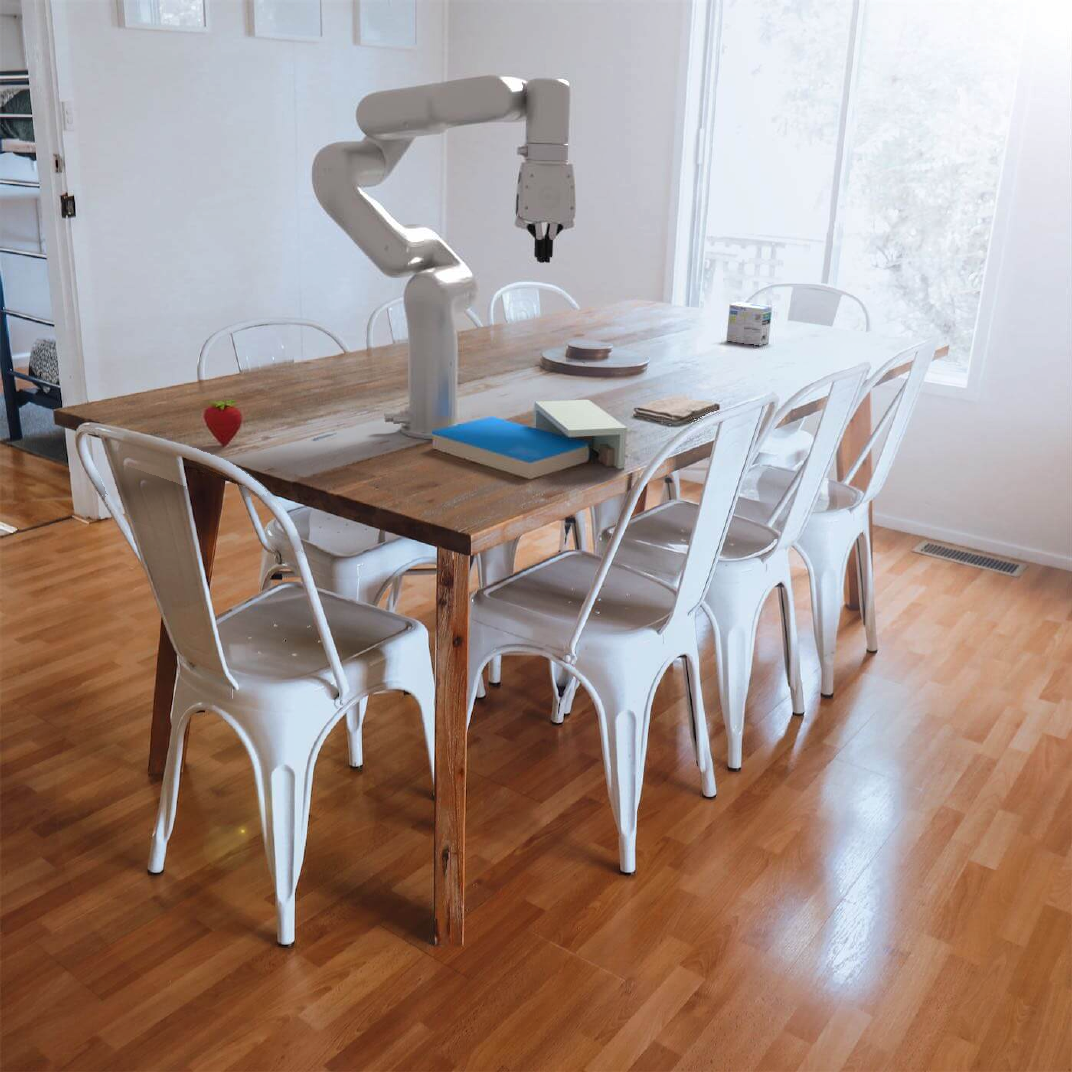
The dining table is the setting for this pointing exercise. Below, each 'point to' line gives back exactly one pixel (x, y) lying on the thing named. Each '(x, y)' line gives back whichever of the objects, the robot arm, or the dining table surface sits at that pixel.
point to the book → (511, 447)
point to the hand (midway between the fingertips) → (543, 261)
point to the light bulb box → (749, 323)
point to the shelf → (584, 427)
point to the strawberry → (223, 420)
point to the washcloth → (675, 410)
